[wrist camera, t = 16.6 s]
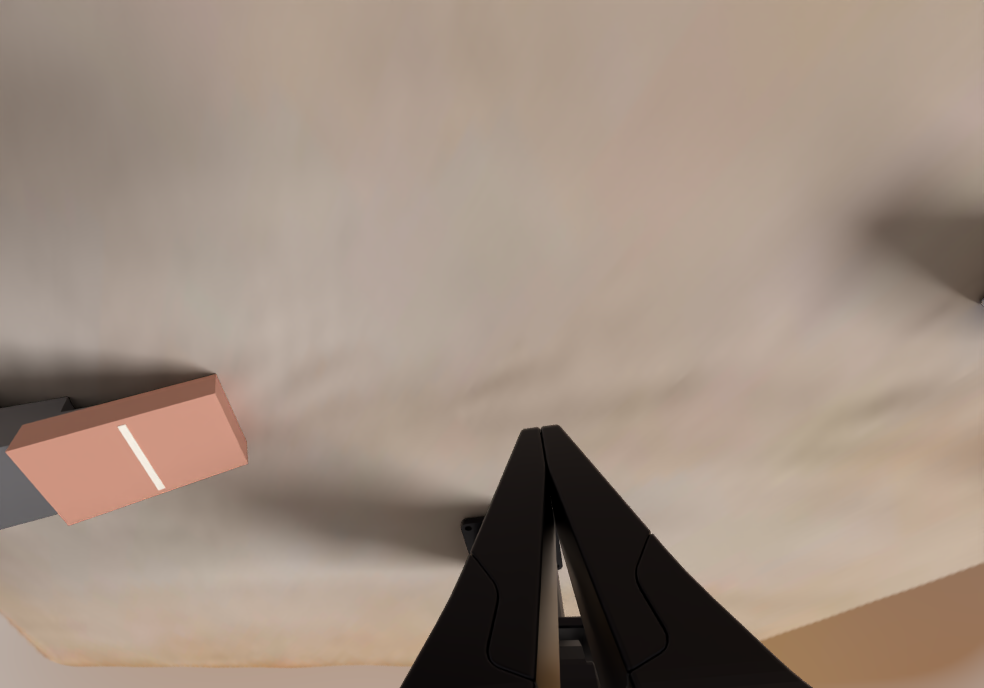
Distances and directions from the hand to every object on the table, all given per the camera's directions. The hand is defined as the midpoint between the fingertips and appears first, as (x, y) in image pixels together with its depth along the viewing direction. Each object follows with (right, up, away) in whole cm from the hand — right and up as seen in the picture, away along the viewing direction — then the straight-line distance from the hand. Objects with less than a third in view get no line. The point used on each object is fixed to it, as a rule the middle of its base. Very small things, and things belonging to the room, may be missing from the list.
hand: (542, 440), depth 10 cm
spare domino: (-15, -2, +14) cm, 21 cm away
